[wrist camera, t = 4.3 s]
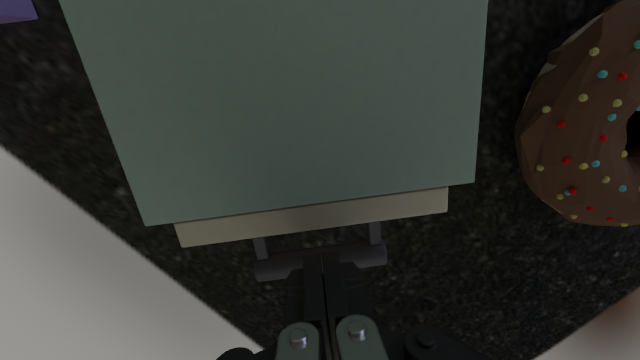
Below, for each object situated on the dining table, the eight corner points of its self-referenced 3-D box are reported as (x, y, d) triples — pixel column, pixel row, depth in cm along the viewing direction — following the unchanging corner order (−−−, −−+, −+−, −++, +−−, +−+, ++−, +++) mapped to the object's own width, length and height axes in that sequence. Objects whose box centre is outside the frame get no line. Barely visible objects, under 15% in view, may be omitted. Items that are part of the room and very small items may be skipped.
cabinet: (404, 125, 21) (475, 182, 13) (205, 151, 21) (144, 227, 12) (398, -187, 15) (523, -462, 7) (123, -154, 15) (-93, -393, 7)
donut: (754, -14, 19) (900, -30, 14) (662, 199, 24) (747, 237, 20) (514, -10, 18) (587, -26, 14) (473, 209, 24) (516, 250, 19)
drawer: (400, 215, 22) (444, 290, 16) (233, 238, 22) (206, 323, 16) (393, -116, 15) (466, -235, 9) (149, -86, 15) (33, -182, 9)
